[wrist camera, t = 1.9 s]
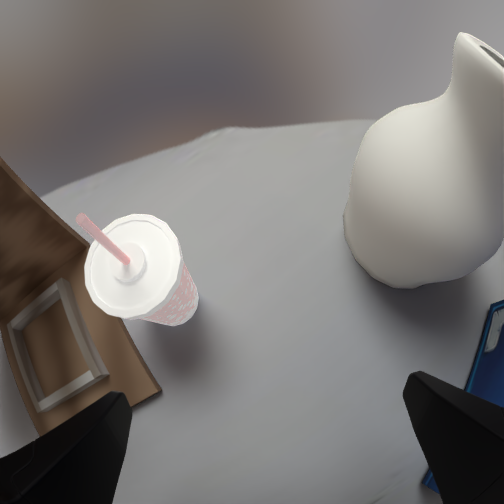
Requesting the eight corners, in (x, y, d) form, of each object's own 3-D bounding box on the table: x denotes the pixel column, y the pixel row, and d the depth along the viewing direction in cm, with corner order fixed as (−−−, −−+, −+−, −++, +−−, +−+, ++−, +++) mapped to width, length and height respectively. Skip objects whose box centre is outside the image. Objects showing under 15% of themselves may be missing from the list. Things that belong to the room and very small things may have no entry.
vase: (459, 224, 25) (563, 113, 6) (423, 330, 21) (613, 243, 2) (365, 154, 28) (424, 2, 10) (302, 242, 24) (378, 7, 5)
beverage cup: (206, 262, 23) (157, 146, 10) (209, 333, 21) (142, 290, 8) (140, 267, 23) (48, 173, 10) (139, 335, 21) (19, 294, 8)
